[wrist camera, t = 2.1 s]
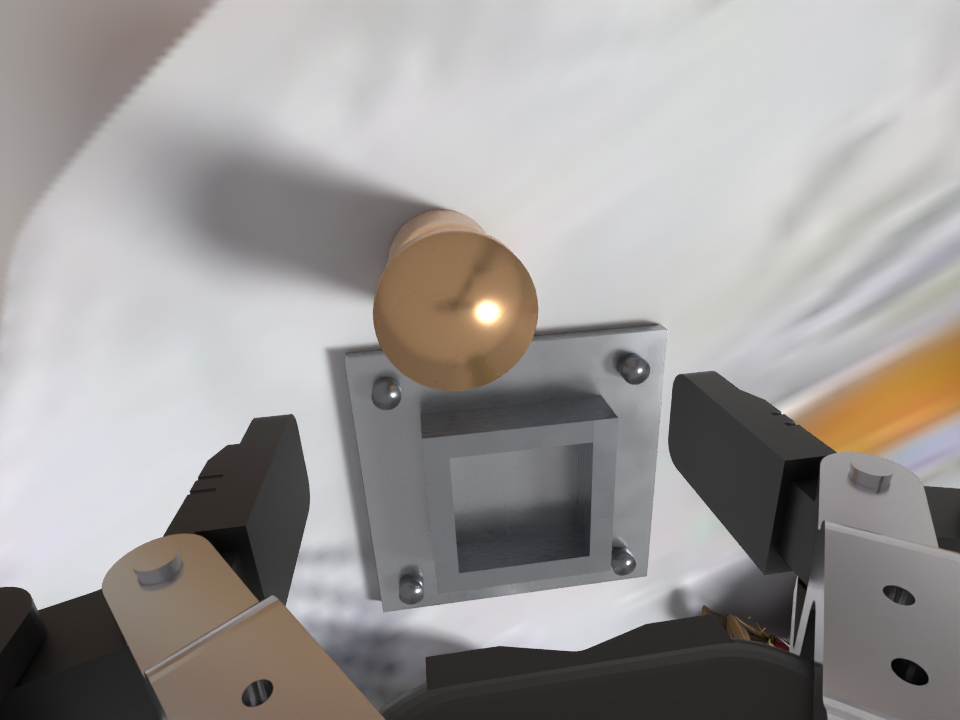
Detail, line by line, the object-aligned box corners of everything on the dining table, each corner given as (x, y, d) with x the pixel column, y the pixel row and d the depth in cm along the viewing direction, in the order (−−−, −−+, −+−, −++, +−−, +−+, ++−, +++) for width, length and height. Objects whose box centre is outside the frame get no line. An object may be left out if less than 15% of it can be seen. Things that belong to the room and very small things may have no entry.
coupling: (345, 353, 27) (338, 381, 24) (660, 324, 29) (690, 347, 26) (383, 601, 34) (381, 648, 30) (641, 566, 35) (664, 608, 32)
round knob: (374, 207, 25) (362, 238, 18) (498, 198, 26) (537, 226, 18) (388, 326, 27) (383, 398, 20) (502, 315, 28) (538, 382, 20)
